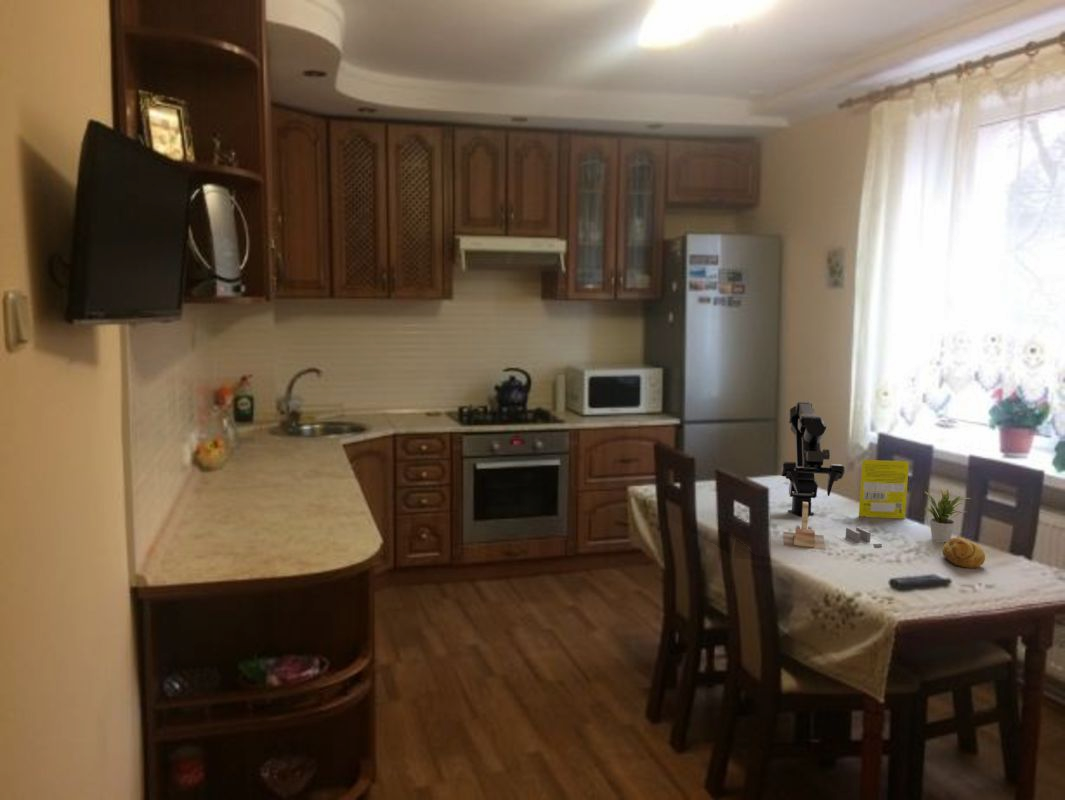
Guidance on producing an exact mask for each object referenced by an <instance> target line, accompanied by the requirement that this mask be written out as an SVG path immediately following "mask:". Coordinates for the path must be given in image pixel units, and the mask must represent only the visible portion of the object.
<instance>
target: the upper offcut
mask: <svg viewBox="0 0 1065 800" xmlns="http://www.w3.org/2000/svg"><path fill="white" fill-rule="evenodd" d="M794 533H795V536H796V538H802V539H814V540H815V535H816V532H815V529H812V530H811V529H808V528H807V529H801V528H800V529H799V528H795V532H794Z"/></svg>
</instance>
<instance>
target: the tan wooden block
mask: <svg viewBox="0 0 1065 800" xmlns="http://www.w3.org/2000/svg"><path fill="white" fill-rule="evenodd" d="M808 518H809V515H808V502H803V509H802V516H801V526H800V529H808V522H809V519H808Z"/></svg>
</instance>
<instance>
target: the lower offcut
mask: <svg viewBox="0 0 1065 800" xmlns="http://www.w3.org/2000/svg"><path fill="white" fill-rule="evenodd" d="M815 542H816V539H815V540H814V539H802V538H796V536H795V534H794V545H799V546H810V547H815Z"/></svg>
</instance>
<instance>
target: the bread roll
mask: <svg viewBox="0 0 1065 800" xmlns="http://www.w3.org/2000/svg"><path fill="white" fill-rule="evenodd" d="M941 552H942V554H943V556H944V557H945V559H946V560H947V561H948V562H950V563H951V564H952V565H955V566H957V567H960V566H961V567H960V568H965V567H967V568H966V569H973V568H978V567H981V566H983V564H984V563H985V561H986V556H985V555H986V554H985V553H986V552H985V551H984V549H983V548H982V547H981V545H979V544H978V543H975V542H972V541H969V540H967V539H966V538H964V537H960V536H956V537H951V539H949V540H948V541H947V542H946V543H944V545H943V547H942V549H941Z"/></svg>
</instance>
